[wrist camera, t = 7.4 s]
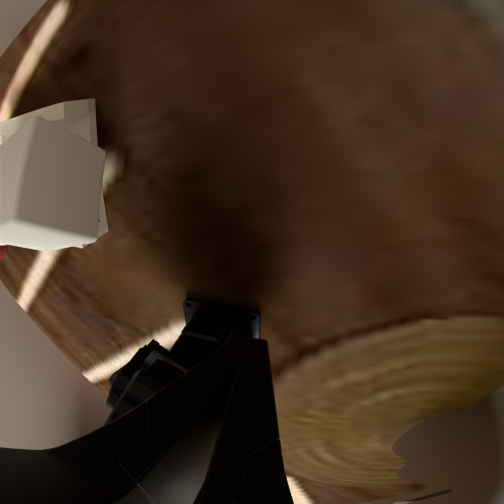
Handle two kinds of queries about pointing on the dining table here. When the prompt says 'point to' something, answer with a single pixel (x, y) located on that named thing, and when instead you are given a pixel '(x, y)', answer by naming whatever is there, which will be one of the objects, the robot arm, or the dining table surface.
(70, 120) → the cradle
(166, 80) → the dining table surface
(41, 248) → the medicine bottle
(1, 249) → the red rounded lump
